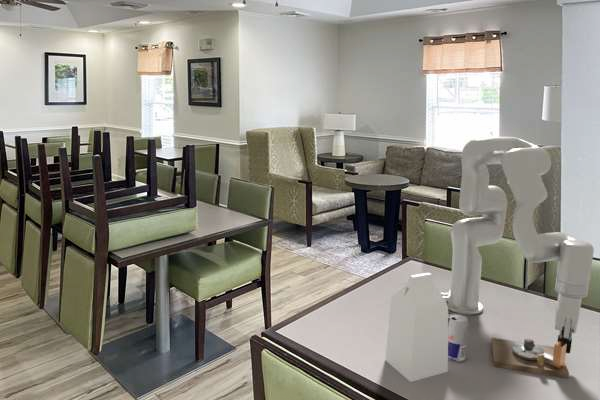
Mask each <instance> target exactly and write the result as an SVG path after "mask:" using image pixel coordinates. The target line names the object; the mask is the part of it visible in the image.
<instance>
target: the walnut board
mask: <svg viewBox="0 0 600 400" xmlns="http://www.w3.org/2000/svg"><path fill="white" fill-rule="evenodd" d="M490 341H491V352H492V362H493V367H496V368H500V369H507V370H508V369H509V370H514V371H519V372H525V373H526V372H527V373H532V374H538V375H544V376H550V377H557V378H563V379H569V376H570V373H569V369H568V367H567V365H566V362H564V365H563V366H562V367H561V368H560V369H558V368H556V367H553V366H552V365H550V364H547V363H545V362H544V355H543V354H538V357H537V361H530V360H525V359H522V358H520V357H518V356H516V355H515V354H514V353H513V352H512V347H513V343H515V342H518V341H516V340H515V341H514V340H511V339H502V338H495V337H491V340H490ZM523 341H524V348H525V349H528V350H533V346H534V344H535V341H534V340H533V339H531V338H525V339H524V340H523ZM536 344H537V343H536ZM537 345H539V346H540V347H542V348H543V349H544V352H545V353H547V354H550V355H552V356H553V354H554V346H550V345H544V344H537Z"/></svg>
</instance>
